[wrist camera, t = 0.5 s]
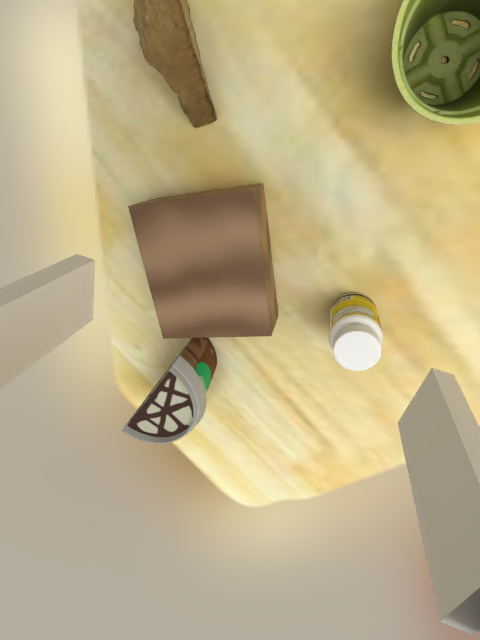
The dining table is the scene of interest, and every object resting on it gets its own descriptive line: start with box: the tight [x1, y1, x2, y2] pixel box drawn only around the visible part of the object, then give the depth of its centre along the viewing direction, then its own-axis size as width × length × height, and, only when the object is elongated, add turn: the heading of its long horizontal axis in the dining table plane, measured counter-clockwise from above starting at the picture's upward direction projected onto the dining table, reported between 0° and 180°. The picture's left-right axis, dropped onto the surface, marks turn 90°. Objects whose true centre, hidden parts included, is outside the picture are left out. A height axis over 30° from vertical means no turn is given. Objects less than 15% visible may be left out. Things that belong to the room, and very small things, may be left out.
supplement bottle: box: [329, 293, 383, 371], centre depth 34 cm, size 5×5×8 cm
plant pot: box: [391, 0, 480, 125], centre depth 24 cm, size 9×9×9 cm
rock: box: [133, 0, 217, 128], centre depth 29 cm, size 11×9×10 cm
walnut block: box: [128, 184, 278, 338], centre depth 37 cm, size 14×12×5 cm
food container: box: [122, 337, 217, 444], centre depth 42 cm, size 12×6×10 cm, turn 144°
